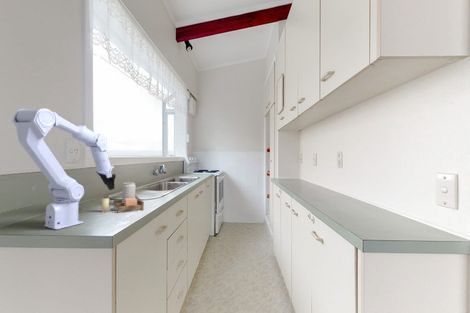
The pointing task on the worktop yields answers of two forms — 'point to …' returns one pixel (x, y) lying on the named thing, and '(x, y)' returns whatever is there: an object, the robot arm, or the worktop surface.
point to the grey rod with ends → (126, 203)
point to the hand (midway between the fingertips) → (109, 186)
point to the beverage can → (128, 190)
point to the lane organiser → (128, 208)
